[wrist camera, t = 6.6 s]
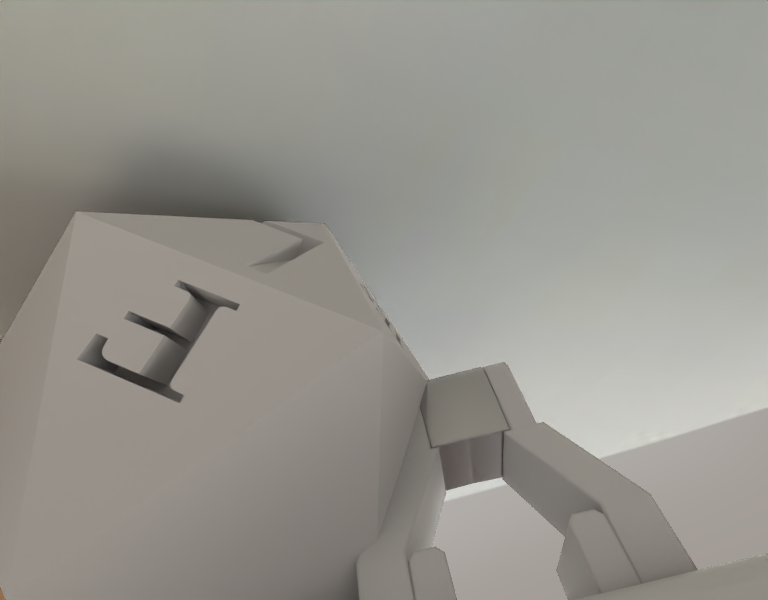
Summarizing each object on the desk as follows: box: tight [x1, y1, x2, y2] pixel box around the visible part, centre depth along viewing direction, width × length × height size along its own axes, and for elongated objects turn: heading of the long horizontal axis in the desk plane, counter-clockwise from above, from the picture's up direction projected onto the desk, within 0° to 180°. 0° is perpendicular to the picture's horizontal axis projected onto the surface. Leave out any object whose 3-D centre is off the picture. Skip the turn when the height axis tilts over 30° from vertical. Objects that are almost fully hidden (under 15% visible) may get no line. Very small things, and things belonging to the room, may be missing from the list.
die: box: [0, 211, 429, 600], centre depth 10 cm, size 8×9×10 cm
